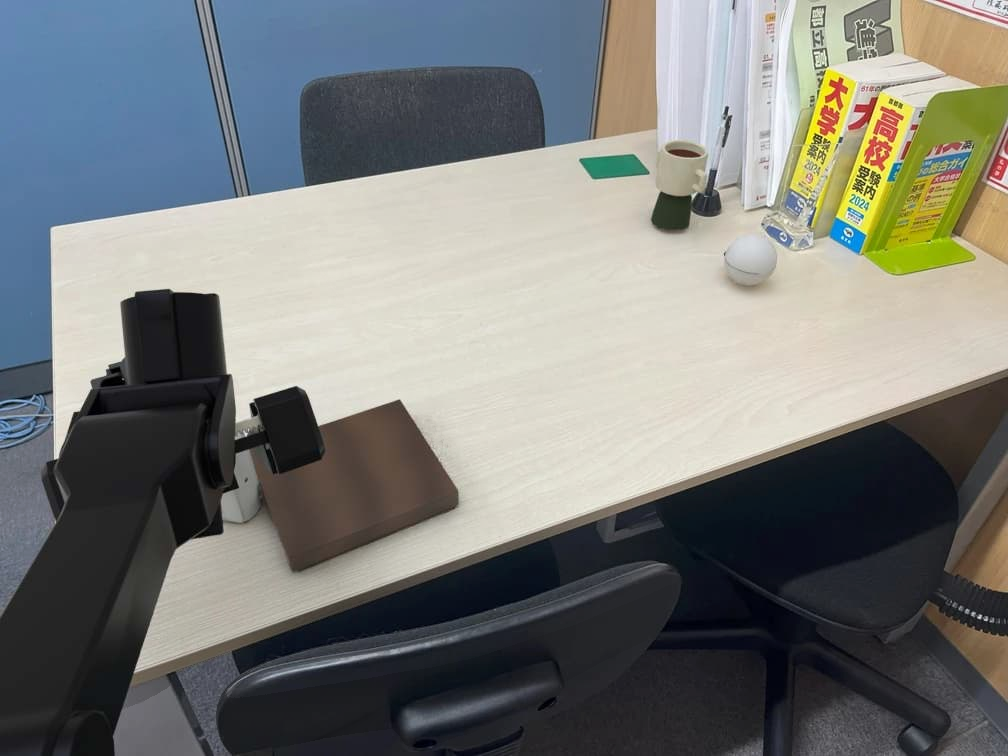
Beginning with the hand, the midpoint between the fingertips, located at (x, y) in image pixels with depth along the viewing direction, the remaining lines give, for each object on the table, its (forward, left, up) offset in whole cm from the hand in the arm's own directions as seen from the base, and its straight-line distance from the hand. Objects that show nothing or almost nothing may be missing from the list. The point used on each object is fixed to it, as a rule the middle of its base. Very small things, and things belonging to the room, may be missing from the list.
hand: (197, 461), depth 61 cm
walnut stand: (+13, 0, -11) cm, 17 cm away
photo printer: (0, +5, -11) cm, 12 cm away
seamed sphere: (+76, +11, -11) cm, 78 cm away
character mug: (+78, +29, -11) cm, 84 cm away
